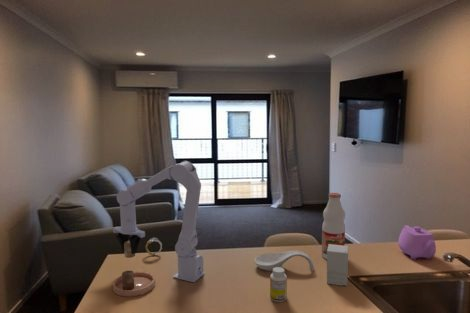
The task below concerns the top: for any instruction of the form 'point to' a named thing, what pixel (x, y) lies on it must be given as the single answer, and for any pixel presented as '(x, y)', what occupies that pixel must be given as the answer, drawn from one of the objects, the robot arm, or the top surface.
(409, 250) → the purple animal planter
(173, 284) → the top surface
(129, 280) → the brown short cylinder
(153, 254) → the ring
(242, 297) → the top surface
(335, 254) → the supplement box
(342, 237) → the fruit juice
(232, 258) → the top surface
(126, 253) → the beige tall rounded piece
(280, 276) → the supplement bottle
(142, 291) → the dish
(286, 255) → the spoon rest
